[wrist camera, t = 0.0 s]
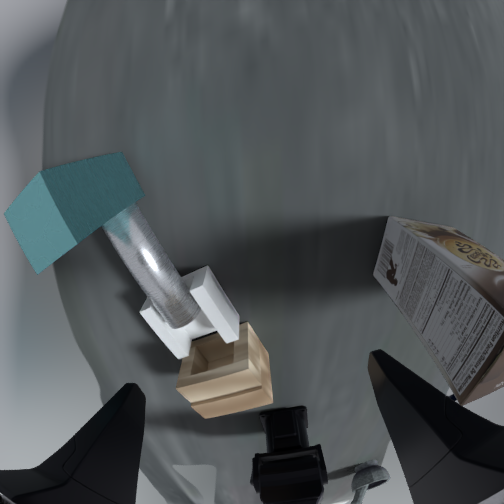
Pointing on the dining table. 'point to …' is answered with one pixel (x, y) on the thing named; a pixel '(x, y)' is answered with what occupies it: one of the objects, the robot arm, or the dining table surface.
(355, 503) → the mortar and pestle
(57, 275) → the dining table surface
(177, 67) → the dining table surface
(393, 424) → the robot arm
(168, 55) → the dining table surface
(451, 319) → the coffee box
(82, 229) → the teal and silver mallet
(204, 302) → the white notched block
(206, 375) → the socket
